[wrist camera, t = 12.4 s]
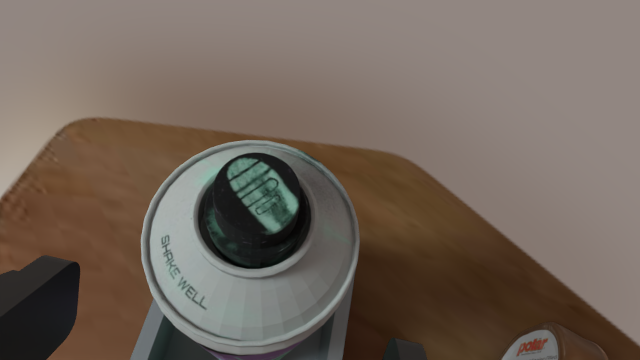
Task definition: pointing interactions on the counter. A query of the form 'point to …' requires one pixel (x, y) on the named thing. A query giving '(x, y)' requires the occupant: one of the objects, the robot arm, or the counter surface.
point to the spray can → (250, 248)
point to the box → (187, 356)
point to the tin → (551, 345)
